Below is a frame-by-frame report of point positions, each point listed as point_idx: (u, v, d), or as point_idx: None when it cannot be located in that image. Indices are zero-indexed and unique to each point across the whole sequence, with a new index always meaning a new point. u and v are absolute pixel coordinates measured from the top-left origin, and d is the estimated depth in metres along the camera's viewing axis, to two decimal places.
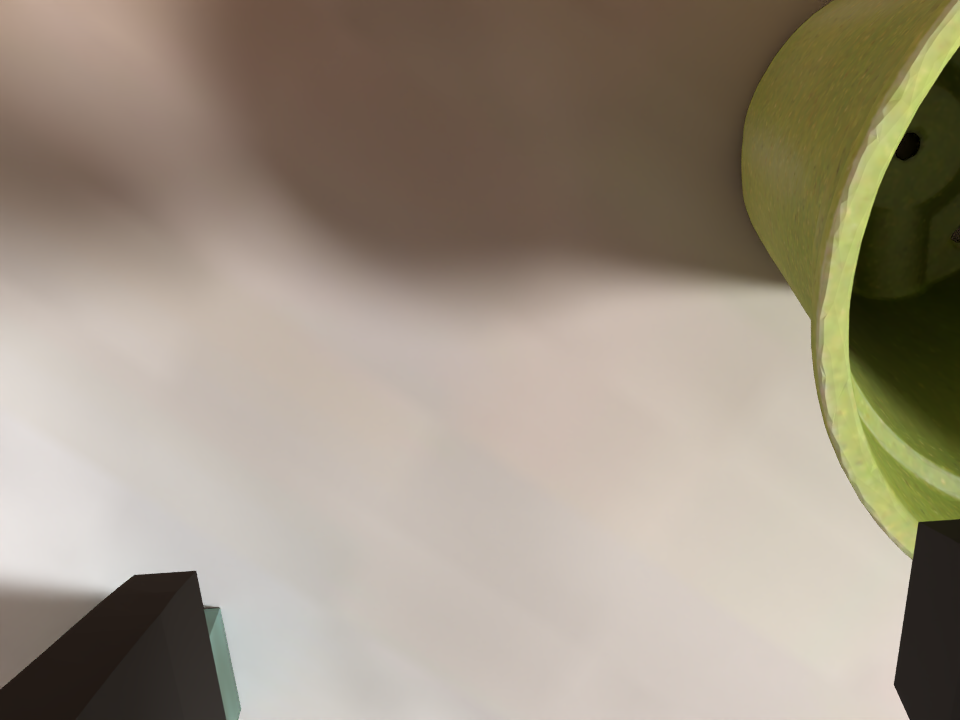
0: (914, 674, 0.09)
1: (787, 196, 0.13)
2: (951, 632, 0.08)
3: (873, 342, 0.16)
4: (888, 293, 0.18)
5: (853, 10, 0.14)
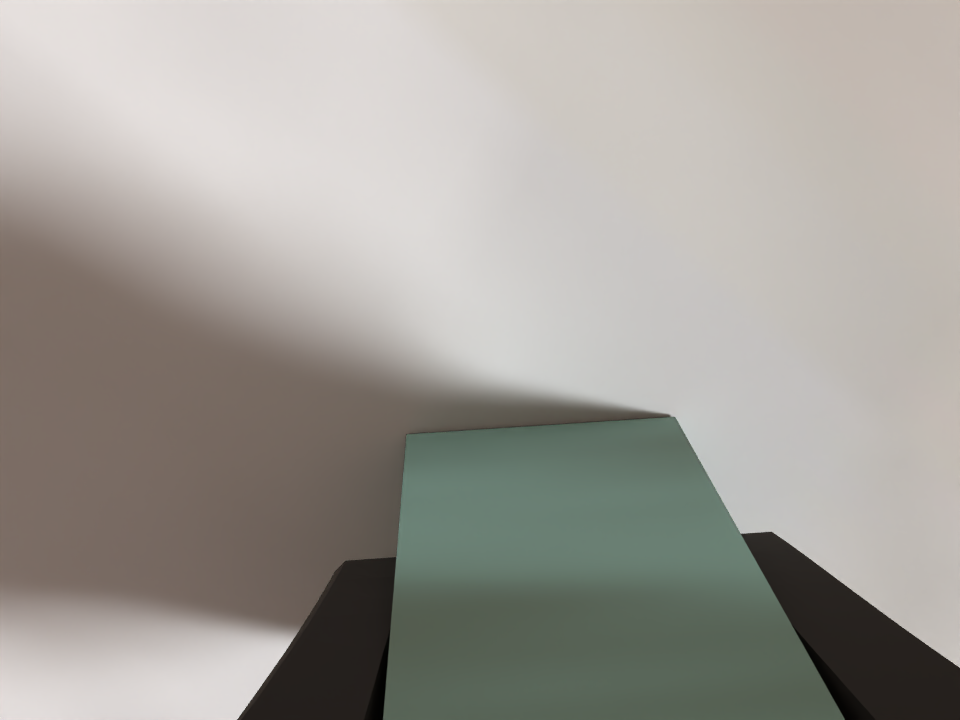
0: None
1: None
2: None
3: None
4: None
5: None
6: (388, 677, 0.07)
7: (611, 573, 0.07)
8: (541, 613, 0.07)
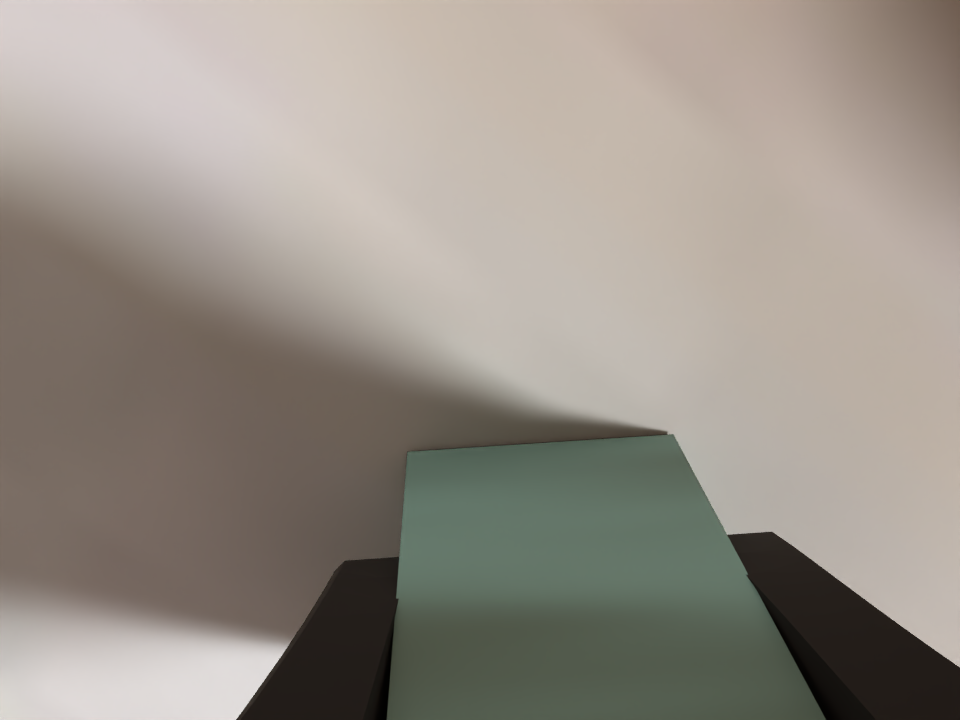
0: None
1: None
2: None
3: None
4: None
5: None
6: (390, 700, 0.07)
7: (609, 595, 0.07)
8: (541, 635, 0.07)
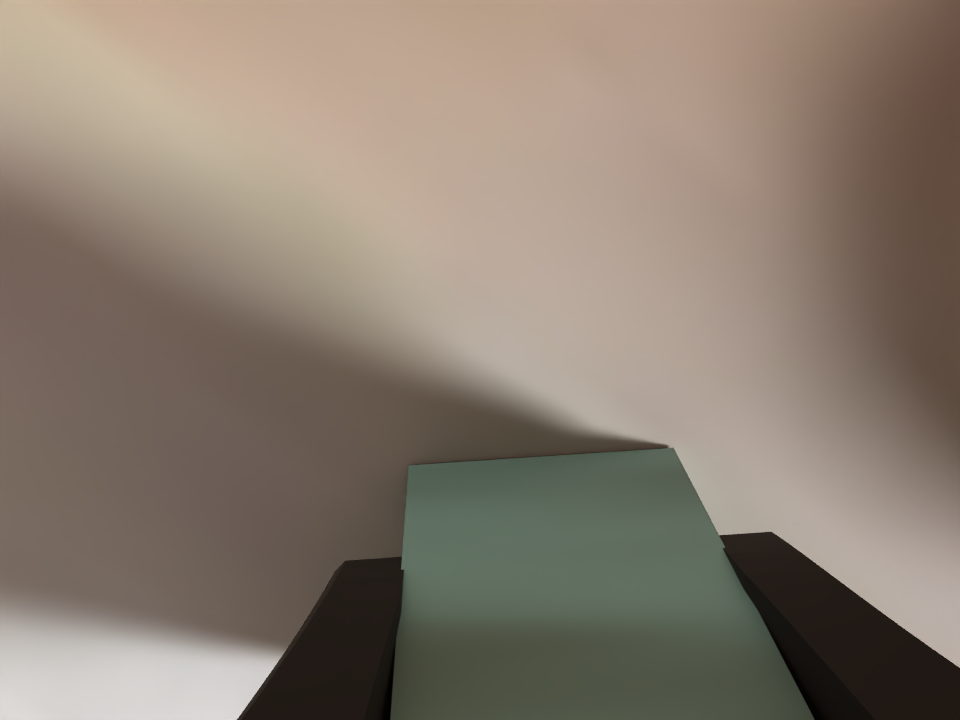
0: None
1: None
2: None
3: None
4: None
5: None
6: (392, 719, 0.07)
7: (610, 613, 0.07)
8: (542, 653, 0.07)
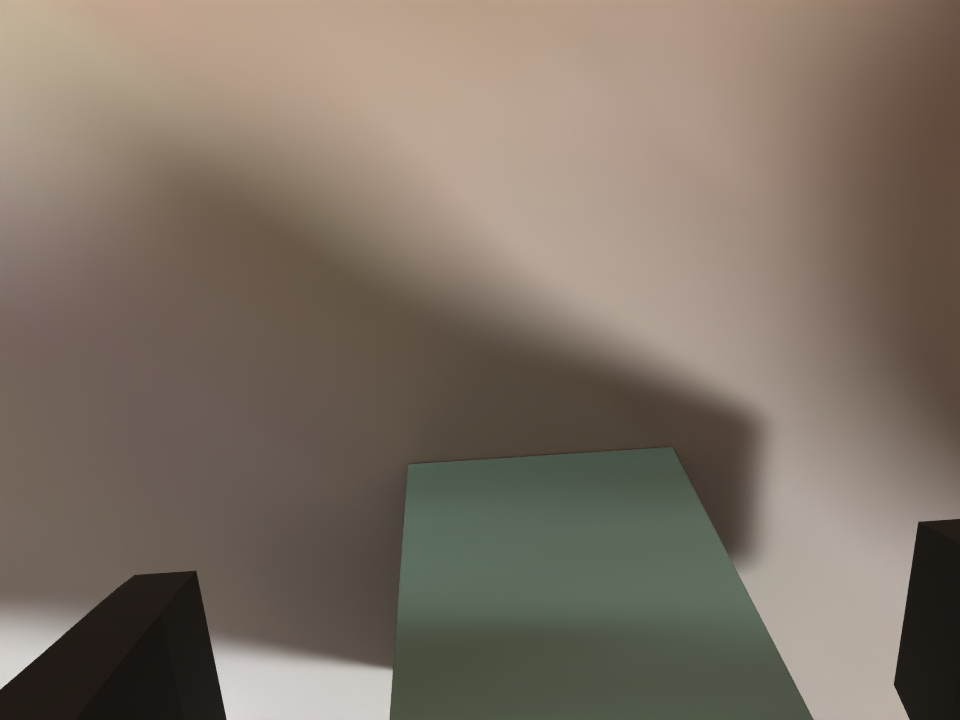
0: (914, 674, 0.09)
1: None
2: (951, 632, 0.08)
3: None
4: None
5: None
6: (392, 718, 0.07)
7: (609, 612, 0.08)
8: (541, 652, 0.07)
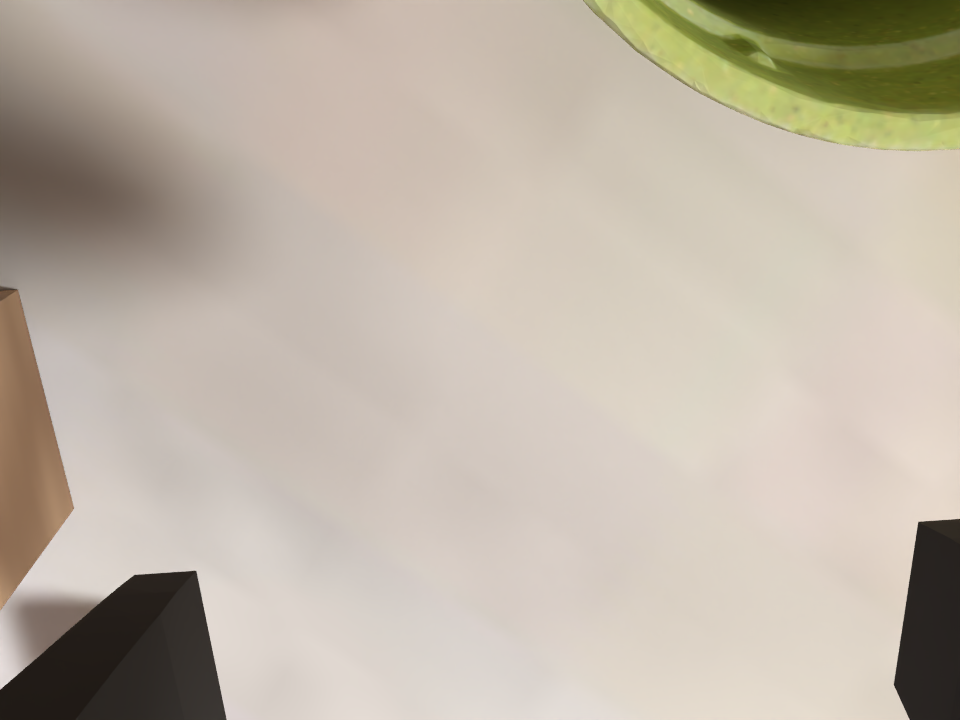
0: (914, 674, 0.09)
1: None
2: (951, 632, 0.08)
3: None
4: None
5: None
6: None
7: None
8: None
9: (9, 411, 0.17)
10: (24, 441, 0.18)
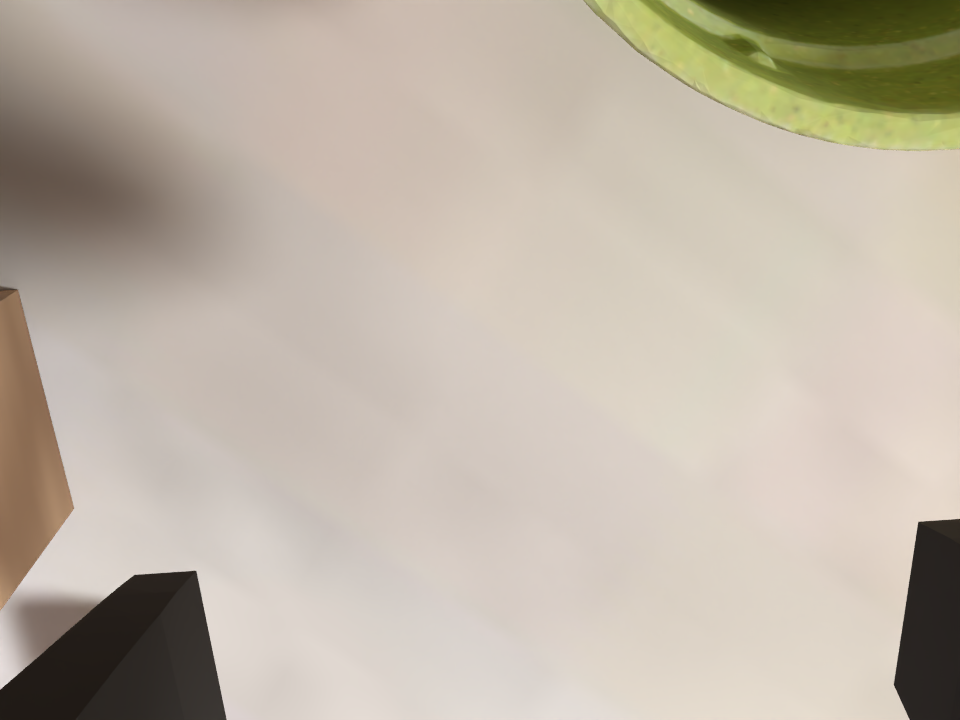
0: (914, 674, 0.09)
1: None
2: (951, 632, 0.08)
3: None
4: None
5: None
6: None
7: None
8: None
9: (9, 411, 0.17)
10: (24, 441, 0.18)
